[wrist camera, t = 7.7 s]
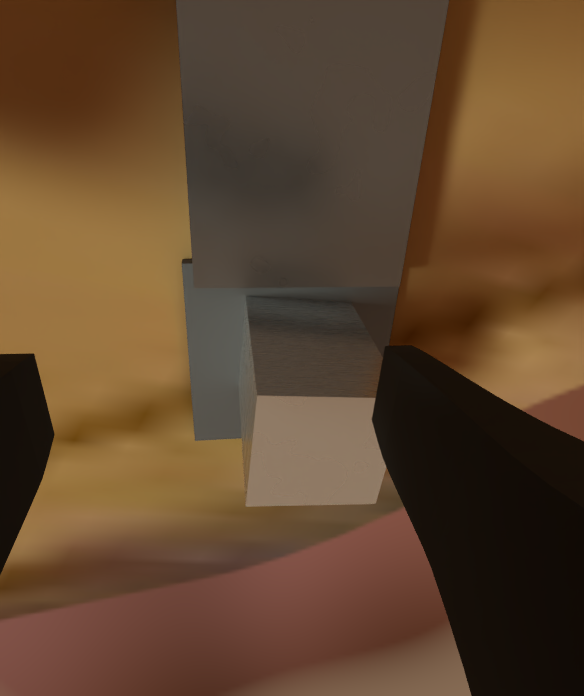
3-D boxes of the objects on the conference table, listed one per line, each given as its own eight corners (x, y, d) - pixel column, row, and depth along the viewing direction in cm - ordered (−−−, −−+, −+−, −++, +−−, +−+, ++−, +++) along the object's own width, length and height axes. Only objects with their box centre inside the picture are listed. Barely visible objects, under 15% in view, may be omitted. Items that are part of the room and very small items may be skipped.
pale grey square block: (238, 385, 22) (245, 506, 16) (245, 295, 19) (257, 395, 13) (333, 388, 22) (375, 504, 16) (350, 301, 20) (406, 398, 14)
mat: (195, 433, 23) (195, 440, 23) (182, 259, 19) (181, 263, 18) (371, 424, 24) (374, 431, 24) (399, 259, 20) (403, 263, 20)
